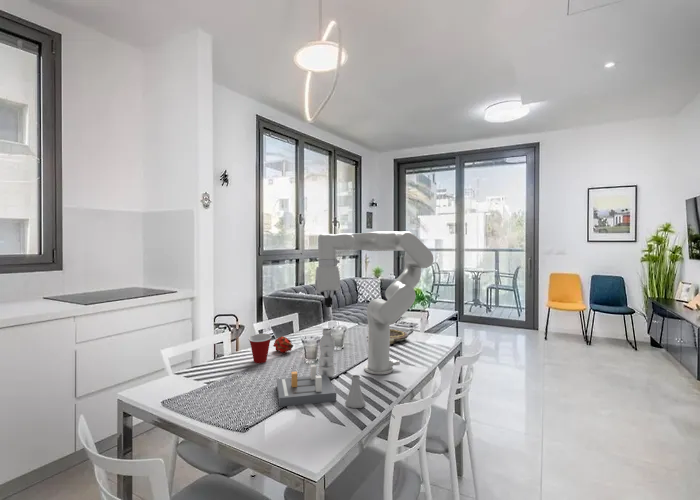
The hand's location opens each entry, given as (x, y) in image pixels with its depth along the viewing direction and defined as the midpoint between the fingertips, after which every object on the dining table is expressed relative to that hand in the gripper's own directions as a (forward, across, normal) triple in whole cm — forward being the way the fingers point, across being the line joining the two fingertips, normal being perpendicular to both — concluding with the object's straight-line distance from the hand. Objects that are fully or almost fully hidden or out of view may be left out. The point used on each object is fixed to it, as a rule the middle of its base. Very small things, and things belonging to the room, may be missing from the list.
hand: (328, 306), depth 157 cm
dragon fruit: (+29, +15, -39) cm, 51 cm away
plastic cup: (+29, +27, -27) cm, 48 cm away
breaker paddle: (+26, +17, +15) cm, 34 cm away
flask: (+30, -2, +29) cm, 42 cm away
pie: (+32, -48, -47) cm, 74 cm away
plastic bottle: (+30, +2, +1) cm, 30 cm away
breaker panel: (+29, +14, +15) cm, 35 cm away
